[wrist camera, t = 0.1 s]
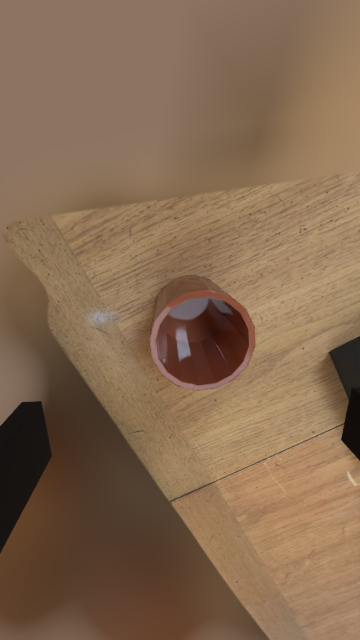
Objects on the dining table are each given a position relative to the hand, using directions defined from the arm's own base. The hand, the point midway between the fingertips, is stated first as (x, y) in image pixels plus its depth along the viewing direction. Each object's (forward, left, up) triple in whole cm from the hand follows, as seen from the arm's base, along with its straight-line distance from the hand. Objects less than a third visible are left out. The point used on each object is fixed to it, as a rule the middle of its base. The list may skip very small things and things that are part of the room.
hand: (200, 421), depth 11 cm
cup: (+1, +1, -19) cm, 19 cm away
